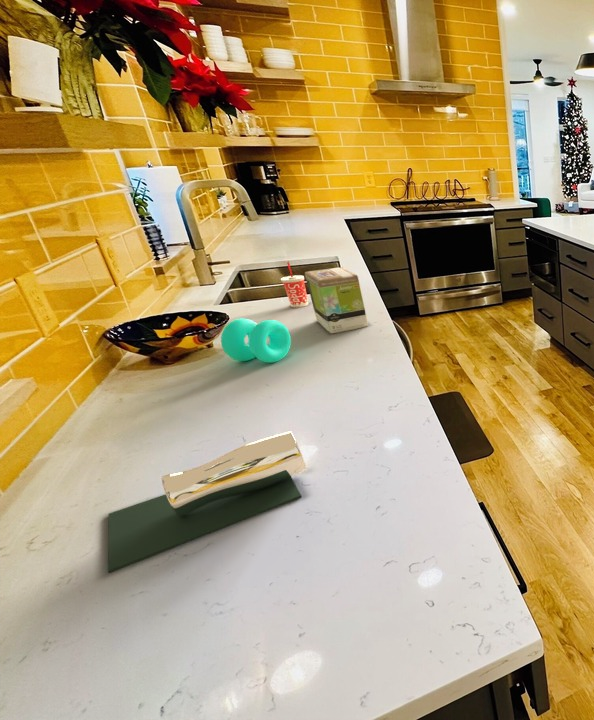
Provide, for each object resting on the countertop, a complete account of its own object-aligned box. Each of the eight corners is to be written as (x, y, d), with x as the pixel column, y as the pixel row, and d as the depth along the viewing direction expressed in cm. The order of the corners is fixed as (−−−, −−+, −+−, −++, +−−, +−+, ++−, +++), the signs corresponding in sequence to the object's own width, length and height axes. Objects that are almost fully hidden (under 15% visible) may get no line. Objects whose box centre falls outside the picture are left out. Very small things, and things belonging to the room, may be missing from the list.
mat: (109, 516, 69) (108, 513, 69) (280, 458, 82) (279, 455, 81) (109, 574, 60) (107, 571, 59) (302, 498, 72) (301, 495, 72)
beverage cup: (284, 308, 155) (271, 263, 149) (295, 302, 161) (282, 259, 155) (305, 308, 155) (292, 263, 150) (315, 302, 161) (303, 259, 155)
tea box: (370, 326, 140) (358, 274, 134) (330, 335, 134) (316, 281, 128) (354, 314, 150) (342, 265, 144) (316, 321, 144) (302, 271, 138)
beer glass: (178, 499, 71) (299, 455, 80) (184, 530, 67) (311, 479, 76) (157, 463, 67) (286, 421, 76) (162, 493, 63) (298, 444, 72)
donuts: (261, 351, 123) (248, 312, 119) (298, 353, 122) (287, 314, 118) (226, 367, 114) (211, 326, 110) (266, 369, 113) (252, 328, 109)
